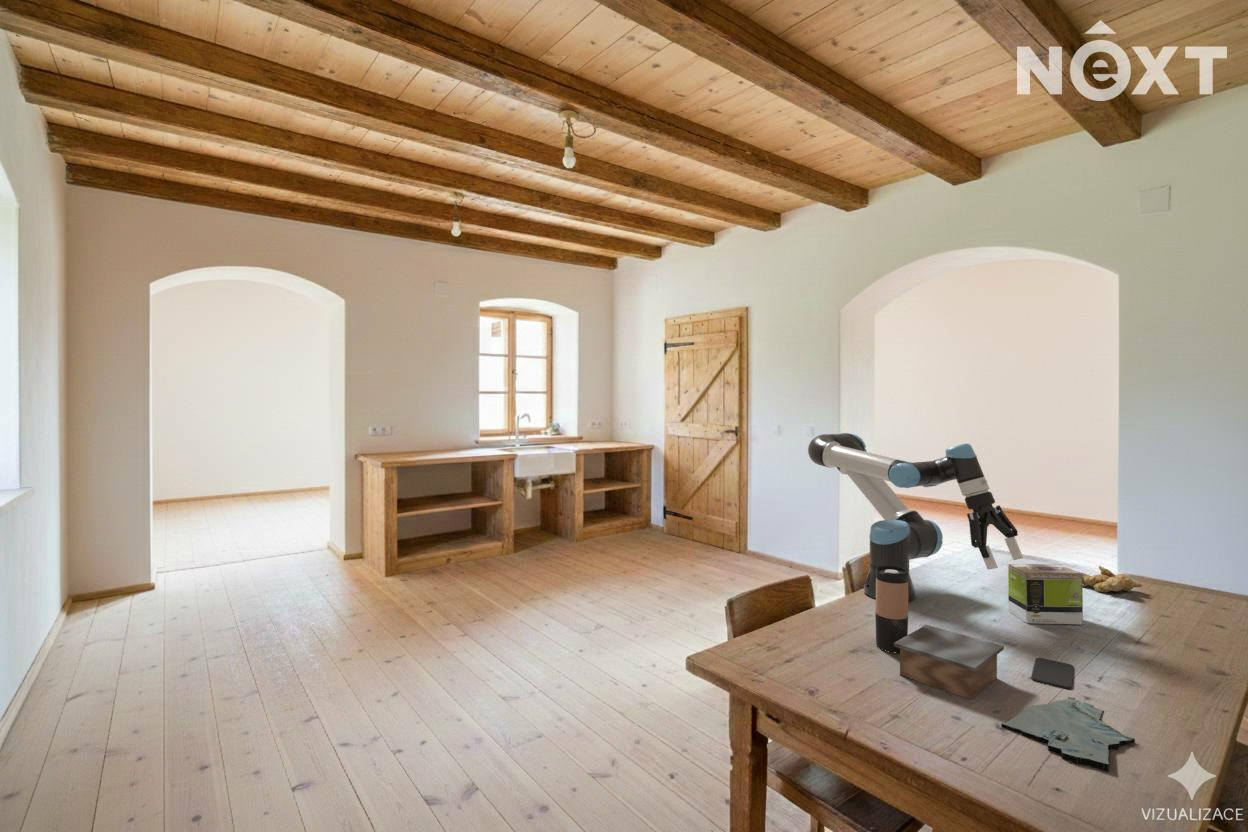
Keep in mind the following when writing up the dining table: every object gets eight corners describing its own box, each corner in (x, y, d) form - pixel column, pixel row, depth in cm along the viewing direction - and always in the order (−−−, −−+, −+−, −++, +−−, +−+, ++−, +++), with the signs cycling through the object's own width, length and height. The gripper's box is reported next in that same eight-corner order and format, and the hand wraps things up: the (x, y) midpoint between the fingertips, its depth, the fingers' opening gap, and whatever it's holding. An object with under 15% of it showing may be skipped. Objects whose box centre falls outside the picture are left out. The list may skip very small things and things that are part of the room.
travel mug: (907, 644, 155) (908, 567, 155) (908, 656, 148) (908, 575, 148) (875, 639, 158) (876, 564, 158) (874, 650, 151) (875, 571, 151)
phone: (1074, 664, 142) (1071, 688, 131) (1074, 668, 142) (1071, 691, 131) (1036, 656, 147) (1030, 678, 135) (1036, 660, 147) (1030, 682, 135)
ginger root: (1156, 594, 190) (1149, 569, 190) (1106, 606, 190) (1100, 581, 191) (1116, 581, 206) (1110, 558, 206) (1071, 592, 206) (1065, 569, 206)
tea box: (1061, 613, 177) (1061, 563, 177) (1083, 626, 167) (1084, 573, 167) (1006, 611, 179) (1007, 562, 178) (1026, 624, 169) (1026, 572, 168)
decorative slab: (966, 698, 129) (966, 688, 128) (1082, 699, 128) (1082, 690, 128) (1049, 774, 102) (1049, 762, 102) (1195, 776, 102) (1195, 764, 102)
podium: (893, 674, 138) (893, 642, 138) (925, 654, 149) (926, 624, 149) (974, 703, 125) (974, 667, 125) (1003, 678, 136) (1003, 645, 136)
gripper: (964, 497, 173) (994, 571, 168) (1011, 485, 186) (1041, 553, 180) (941, 503, 180) (969, 574, 174) (988, 491, 192) (1016, 557, 186)
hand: (1005, 564), depth 177 cm, fingers open, 13 cm apart
